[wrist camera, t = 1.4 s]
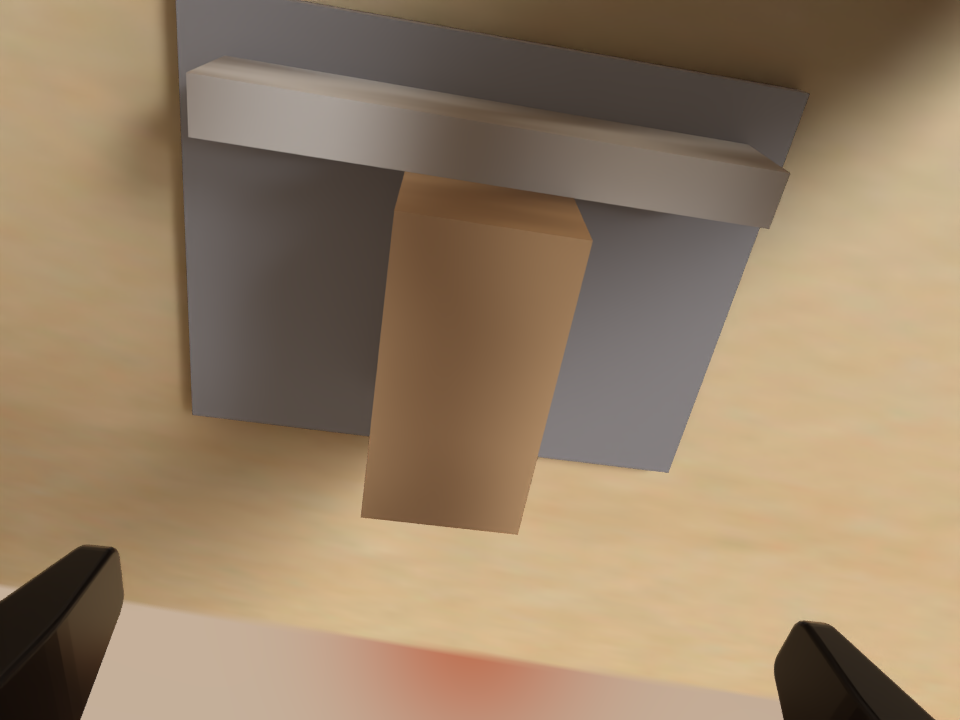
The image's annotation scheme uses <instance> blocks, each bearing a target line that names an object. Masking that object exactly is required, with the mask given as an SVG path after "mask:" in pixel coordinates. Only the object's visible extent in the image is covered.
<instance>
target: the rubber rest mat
mask: <svg viewBox="0 0 960 720" xmlns="http://www.w3.org/2000/svg"><path fill="white" fill-rule="evenodd" d="M176 19H177V44H178V68H179V93H180V118H181V143H182V168H183V192H184V217H185V242H186V267H187V292H188V316H189V341H190V366H191V391H192V415H198V416H206V417H214V418H223V419H231V420H239V421H247V422H255V423H264V424H272V425H280V426H288V427H297V428H305V429H313V430H321V431H329V432H338V433H346V434H354V435H362V436H370V428H371V419H372V410H373V401H374V392H375V382H376V373H377V364H378V355H379V346H380V337H381V327H382V318H383V309H384V300H385V291H386V282H387V272H388V263H389V254H390V245H391V236H392V227H393V217H394V210H395V206H396V202H397V198H398V195H399V191H400V187H401V184H402V180H403V176H404V172H405V171H399V170H393V169H387V168H380V167H374V166H368V165H362V164H355V163H349V162H343V161H336V160H330V159H324V158H317V157H311V156H305V155H298V154H292V153H286V152H280V151H273V150H267V149H261V148H254V147H248V146H242V145H235V144H229V143H223V142H216V141H210V140H204V139H197V138H191V137H188V112H187V84H186V72H188V71H191V70H193V69H195V68H197V67H200V66H202V65H204V64H206V63H209V62H211V61H213V60H216V59H218V58H220V57H222V56H231V57H237V58H243V59H249V60H255V61H261V62H266V63H272V64H278V65H284V66H290V67H296V68H302V69H308V70H313V71H319V72H325V73H331V74H337V75H343V76H349V77H355V78H360V79H366V80H372V81H378V82H384V83H390V84H396V85H402V86H407V87H413V88H419V89H425V90H431V91H437V92H443V93H449V94H454V95H460V96H466V97H472V98H478V99H484V100H490V101H496V102H502V103H507V104H513V105H519V106H525V107H531V108H537V109H543V110H549V111H554V112H560V113H566V114H572V115H578V116H584V117H590V118H596V119H601V120H607V121H613V122H619V123H625V124H631V125H637V126H643V127H648V128H654V129H660V130H666V131H672V132H678V133H684V134H690V135H695V136H701V137H707V138H713V139H719V140H725V141H731V142H737V143H742V144H748V145H750V146H751V147H753V148H754V149H755V150H757V151H758V152H760V153H761V154H763V155H764V156H766V157H767V158H769V159H770V160H771V161H773V162H774V163H776V164H777V165H779V166H780V167H783V164H784V162H785V159H786V156H787V154H788V151H789V148H790V146H791V143H792V140H793V138H794V135H795V132H796V130H797V127H798V124H799V122H800V119H801V116H802V114H803V111H804V108H805V105H806V103H807V100H808V97H809V95H810V94H809V93H806V92H804V91H801V90H797V89H791V88H786V87H780V86H774V85H769V84H763V83H758V82H752V81H747V80H741V79H735V78H730V77H724V76H719V75H713V74H708V73H702V72H696V71H691V70H685V69H680V68H674V67H669V66H663V65H657V64H652V63H646V62H641V61H635V60H629V59H624V58H618V57H613V56H607V55H602V54H596V53H590V52H585V51H579V50H574V49H568V48H563V47H557V46H551V45H546V44H540V43H535V42H529V41H523V40H518V39H512V38H507V37H501V36H496V35H490V34H484V33H479V32H473V31H468V30H462V29H457V28H451V27H445V26H440V25H434V24H429V23H423V22H417V21H412V20H406V19H401V18H395V17H390V16H384V15H378V14H373V13H367V12H362V11H356V10H351V9H345V8H339V7H334V6H328V5H323V4H317V3H311V2H306V1H300V0H176ZM574 200H575V202H576V204H577V206H578V209H579V211H580V213H581V215H582V218H583V220H584V222H585V224H586V227H587V229H588V231H589V233H590V236H591V238H592V240H593V242H592V246H591V250H590V254H589V258H588V262H587V265H586V269H585V273H584V277H583V281H582V285H581V289H580V293H579V297H578V301H577V305H576V308H575V312H574V316H573V320H572V324H571V328H570V332H569V336H568V340H567V344H566V348H565V351H564V355H563V359H562V363H561V367H560V371H559V375H558V379H557V383H556V387H555V391H554V394H553V398H552V402H551V406H550V410H549V414H548V418H547V422H546V426H545V430H544V434H543V438H542V441H541V445H540V449H539V453H538V457H543V458H551V459H559V460H568V461H576V462H584V463H592V464H601V465H609V466H617V467H625V468H633V469H642V470H650V471H658V472H666V473H668V472H669V470H670V467H671V464H672V461H673V459H674V456H675V453H676V451H677V448H678V445H679V443H680V440H681V437H682V435H683V432H684V429H685V427H686V424H687V421H688V419H689V416H690V413H691V411H692V408H693V405H694V403H695V400H696V397H697V395H698V392H699V389H700V387H701V384H702V381H703V379H704V376H705V373H706V370H707V368H708V365H709V362H710V360H711V357H712V354H713V352H714V349H715V346H716V344H717V341H718V338H719V336H720V333H721V330H722V328H723V325H724V322H725V320H726V317H727V314H728V312H729V309H730V306H731V304H732V301H733V298H734V296H735V293H736V290H737V288H738V285H739V282H740V279H741V277H742V274H743V271H744V269H745V266H746V263H747V261H748V258H749V255H750V253H751V250H752V247H753V245H754V242H755V239H756V237H757V234H758V231H759V229H760V228H759V227H753V226H746V225H740V224H734V223H728V222H721V221H715V220H709V219H702V218H696V217H690V216H683V215H677V214H671V213H664V212H658V211H652V210H645V209H639V208H633V207H627V206H620V205H614V204H608V203H601V202H595V201H589V200H582V199H576V198H574Z"/></svg>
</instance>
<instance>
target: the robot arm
mask: <svg viewBox="0 0 960 720" xmlns="http://www.w3.org/2000/svg"><path fill="white" fill-rule="evenodd" d="M123 598H124V590H123V581H122V573H121V564H120V556H119V553H118V551H117V550H116V549H115V548H113V547H106V546H97V545H82V546H80V547H78V548H76V549H74V550H73V551H71V552H70V553H69V554H67V555H66V556H64V557H63V558H61V559H60V560H59V561H57V562H56V563H54V564H53V565H51V566H50V567H49V568H47V569H46V570H44V571H43V572H41V573H40V574H39V575H37V576H36V577H34V578H33V579H31V580H30V581H29V582H27V583H26V584H24V585H23V586H21V587H20V588H18V589H17V590H16V591H14V592H13V593H11V594H10V595H8V596H7V597H6V598H4V599H3V600H1V601H0V720H80V719H81V716H82V714H83V711H84V709H85V706H86V703H87V700H88V698H89V695H90V692H91V689H92V687H93V684H94V682H95V679H96V676H97V674H98V671H99V668H100V666H101V663H102V660H103V658H104V655H105V652H106V649H107V647H108V644H109V641H110V639H111V636H112V633H113V630H114V628H115V625H116V623H117V620H118V617H119V615H120V612H121V608H122V604H123ZM774 676H775V681H776V686H777V690H778V695H779V700H780V704H781V709H782V714H783V718H784V720H935V719H934V718H933V717H932V716H930V715H929V714H928V713H927V712H926V711H925V710H924V709H923V708H922V707H921V706H919V705H918V704H917V703H916V702H915V701H914V700H913V699H912V698H911V697H910V696H909V695H907V694H906V693H905V692H904V691H903V690H902V689H901V688H900V687H899V686H898V685H896V684H895V683H894V682H893V681H892V680H891V679H890V678H889V677H888V676H887V675H886V674H884V673H883V672H882V671H881V670H880V669H879V668H878V667H877V666H876V665H875V664H873V663H872V662H871V661H870V660H869V659H868V658H867V657H866V656H865V655H864V654H863V653H861V652H860V651H859V650H858V649H857V648H856V647H855V646H854V645H853V644H852V643H850V642H849V641H848V640H847V639H846V638H845V637H844V636H843V635H842V634H841V633H840V632H838V631H837V630H836V629H835V628H834V627H833V626H831V625H829V624H827V623H822V622H812V621H799V622H798V623H796V624H795V625H794V626H793V628H792V630H791V632H790V633H789V635H788V637H787V639H786V640H785V642H784V644H783V646H782V648H781V649H780V651H779V653H778V655H777V657H776V660H775V664H774Z"/></svg>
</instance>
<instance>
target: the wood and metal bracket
mask: <svg viewBox="0 0 960 720" xmlns="http://www.w3.org/2000/svg"><path fill="white" fill-rule="evenodd" d="M186 84H187V112H188V137H191V138H197V139H204V140H210V141H216V142H223V143H229V144H235V145H242V146H248V147H254V148H261V149H267V150H273V151H280V152H286V153H292V154H298V155H305V156H311V157H317V158H324V159H330V160H336V161H343V162H349V163H355V164H362V165H368V166H374V167H380V168H387V169H393V170H399V171H405V172H404V176H403V180H402V184H401V187H400V191H399V195H398V198H397V202H396V206H395V210H394V217H393V227H392V236H391V245H390V254H389V263H388V272H387V282H386V291H385V300H384V309H383V318H382V327H381V337H380V346H379V355H378V364H377V373H376V382H375V392H374V401H373V410H372V419H371V428H370V437H369V447H368V456H367V465H366V474H365V483H364V492H363V502H362V511H361V517H363V518H372V519H381V520H390V521H399V522H408V523H417V524H426V525H435V526H444V527H453V528H462V529H471V530H480V531H489V532H498V533H507V534H516V535H518V531H519V527H520V524H521V520H522V516H523V512H524V508H525V504H526V500H527V496H528V492H529V488H530V484H531V481H532V477H533V473H534V469H535V465H536V461H537V457H538V453H539V449H540V445H541V441H542V438H543V434H544V430H545V426H546V422H547V418H548V414H549V410H550V406H551V402H552V398H553V394H554V391H555V387H556V383H557V379H558V375H559V371H560V367H561V363H562V359H563V355H564V351H565V348H566V344H567V340H568V336H569V332H570V328H571V324H572V320H573V316H574V312H575V308H576V305H577V301H578V297H579V293H580V289H581V285H582V281H583V277H584V273H585V269H586V265H587V262H588V258H589V254H590V250H591V246H592V242H593V240H592V238H591V236H590V233H589V231H588V229H587V227H586V224H585V222H584V220H583V218H582V215H581V213H580V211H579V209H578V206H577V204H576V202H575V200H574V198H576V199H582V200H589V201H595V202H601V203H608V204H614V205H620V206H627V207H633V208H639V209H645V210H652V211H658V212H664V213H671V214H677V215H683V216H690V217H696V218H702V219H709V220H715V221H721V222H728V223H734V224H740V225H746V226H753V227H759V228H765V229H769V228H770V225H771V223H772V220H773V217H774V215H775V212H776V209H777V207H778V204H779V202H780V199H781V196H782V194H783V191H784V188H785V186H786V183H787V181H788V178H789V175H790V173H789V172H788V171H786V170H785V169H783V168H782V167H780V166H779V165H777V164H776V163H774V162H773V161H771V160H770V159H769V158H767V157H766V156H764V155H763V154H761V153H760V152H758V151H757V150H755V149H754V148H753V147H751V146H750V145H748V144H742V143H737V142H731V141H725V140H719V139H713V138H707V137H701V136H695V135H690V134H684V133H678V132H672V131H666V130H660V129H654V128H648V127H643V126H637V125H631V124H625V123H619V122H613V121H607V120H601V119H596V118H590V117H584V116H578V115H572V114H566V113H560V112H554V111H549V110H543V109H537V108H531V107H525V106H519V105H513V104H507V103H502V102H496V101H490V100H484V99H478V98H472V97H466V96H460V95H454V94H449V93H443V92H437V91H431V90H425V89H419V88H413V87H407V86H402V85H396V84H390V83H384V82H378V81H372V80H366V79H360V78H355V77H349V76H343V75H337V74H331V73H325V72H319V71H313V70H308V69H302V68H296V67H290V66H284V65H278V64H272V63H266V62H261V61H255V60H249V59H243V58H237V57H231V56H222V57H220V58H218V59H216V60H213V61H211V62H209V63H206V64H204V65H202V66H200V67H197V68H195V69H193V70H191V71H188V72H186Z"/></svg>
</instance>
